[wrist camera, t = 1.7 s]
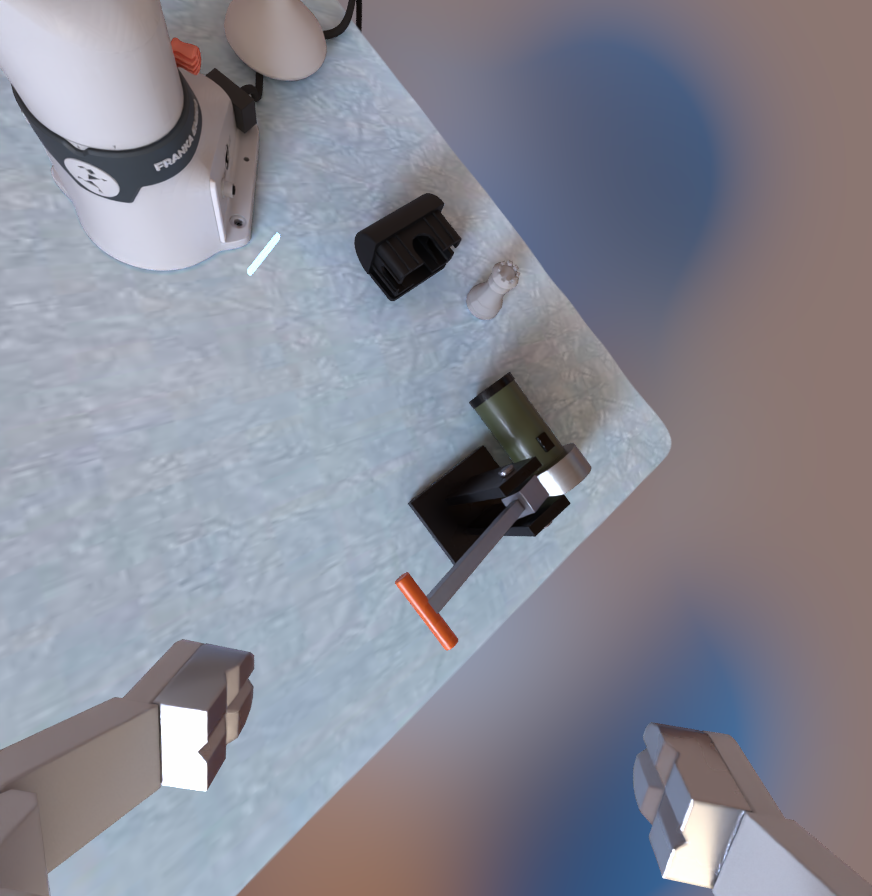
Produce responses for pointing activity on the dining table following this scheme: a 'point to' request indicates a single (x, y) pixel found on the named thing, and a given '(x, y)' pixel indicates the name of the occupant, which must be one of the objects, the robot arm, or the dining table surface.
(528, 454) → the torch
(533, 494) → the switch lever
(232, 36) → the flower in vase
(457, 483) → the black lever stand
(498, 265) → the rook chess piece
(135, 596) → the dining table surface
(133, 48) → the robot arm
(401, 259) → the end cap
